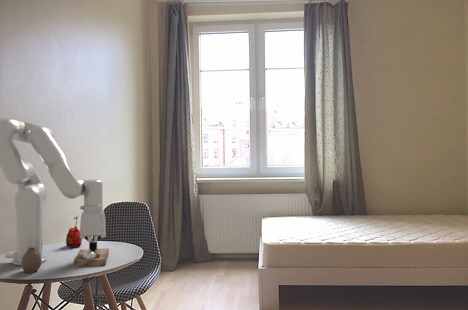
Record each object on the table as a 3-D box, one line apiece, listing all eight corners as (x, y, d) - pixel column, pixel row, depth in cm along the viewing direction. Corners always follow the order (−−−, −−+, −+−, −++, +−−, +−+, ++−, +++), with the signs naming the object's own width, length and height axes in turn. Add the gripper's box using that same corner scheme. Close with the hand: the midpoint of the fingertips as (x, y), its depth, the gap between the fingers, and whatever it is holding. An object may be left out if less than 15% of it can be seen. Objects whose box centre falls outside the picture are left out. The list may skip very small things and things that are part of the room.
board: (74, 267, 159) (74, 260, 159) (80, 255, 177) (80, 249, 177) (105, 265, 162) (105, 258, 162) (108, 253, 180) (108, 248, 180)
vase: (33, 274, 150) (33, 250, 150) (17, 273, 151) (17, 249, 151) (45, 269, 157) (45, 246, 157) (29, 267, 158) (29, 245, 158)
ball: (80, 262, 165) (92, 264, 167) (82, 261, 161) (94, 264, 163) (84, 249, 167) (96, 252, 169) (86, 249, 163) (98, 252, 165)
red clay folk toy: (62, 247, 192) (62, 215, 192) (74, 244, 198) (74, 213, 198) (74, 248, 188) (74, 217, 188) (85, 245, 195) (85, 214, 194)
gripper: (73, 210, 167) (73, 254, 167) (110, 209, 170) (110, 252, 170) (76, 207, 174) (76, 250, 174) (112, 206, 177) (112, 248, 178)
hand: (93, 251), depth 172 cm, fingers closed
